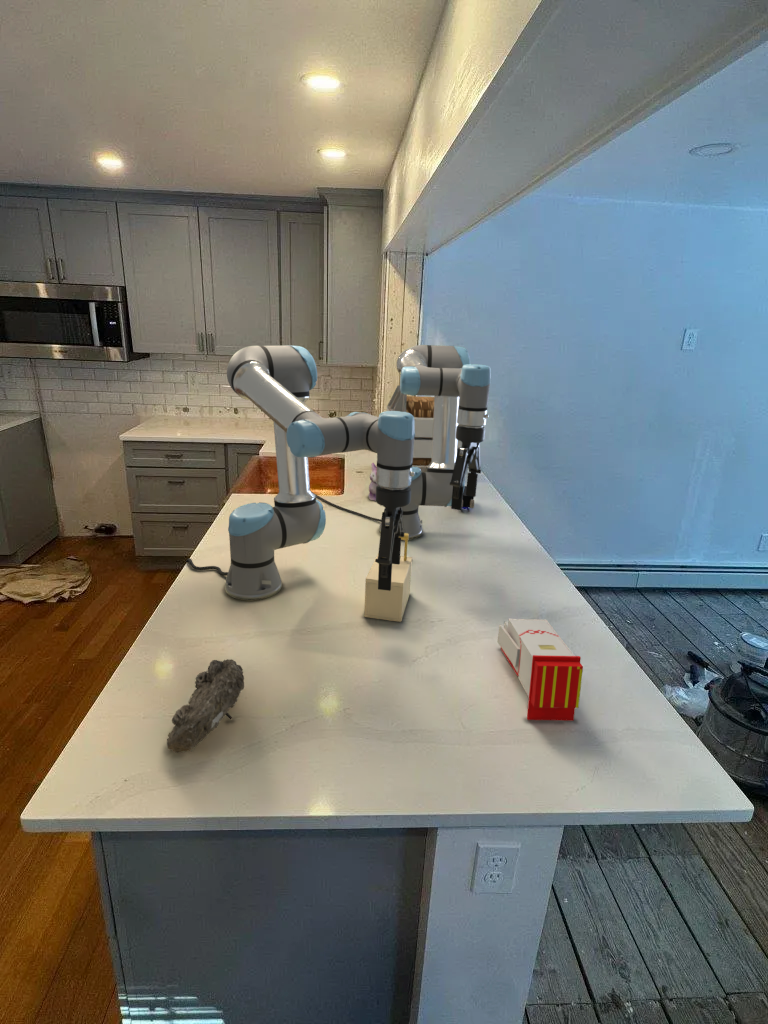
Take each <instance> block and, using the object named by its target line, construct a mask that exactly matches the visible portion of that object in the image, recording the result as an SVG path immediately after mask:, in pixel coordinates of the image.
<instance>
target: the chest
mask: <svg viewBox="0 0 768 1024" xmlns="http://www.w3.org/2000/svg"><path fill="white" fill-rule="evenodd" d="M412 565H413V563H411V566H410V568H409V571H408V574H407V577H406V580H405V583H404V586H403V587H400V586H392V585H391V590H390V591H388V590H379V589H378V584H376V583H368V582H366V581H365V587H364V614H363V615H364V616H363V617H364V618H368V619H369V618H371V619H378V620H385V621H392V622H397V623H399V622H400V623H402V620H403V617H404V614H405V611H406V607H407V604H408V602H409V601H408V600H409V598H410V595H411V581H412V580H411V578H412Z"/></svg>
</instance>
